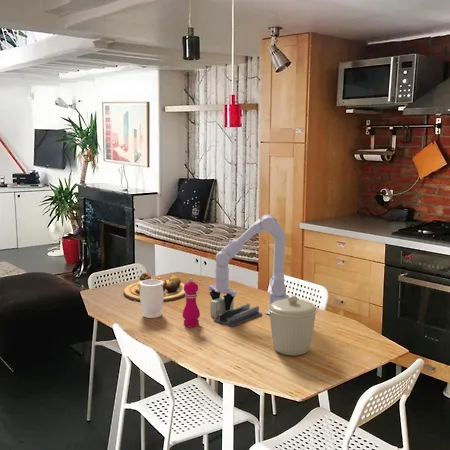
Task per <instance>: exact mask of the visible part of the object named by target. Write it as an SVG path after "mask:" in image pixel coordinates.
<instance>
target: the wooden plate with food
mask: <svg viewBox="0 0 450 450" xmlns="http://www.w3.org/2000/svg"><path fill="white" fill-rule="evenodd" d="M149 279H152V277H151V275H150V273H148V272H147V271H146V272H143V273H142V274H141V275H139V279H138V281H137V282H134V283H131V284H129V285H127V286H126V287H125V288H124V289H123V295H124V296H125V298H127V299H128V298H129V299H128V300H131V299H132V301H134V300H136V301H135V302H140V288H141V286H140V282H141V281H143V280H149ZM153 279H157V280H162V281H163V285H162V287H163V292H164V299H163V303H165V302H171V301H176V300H180V299H182V298H184V297H185V293H186V292H185V291H184V285H185V284H186V283H185V284H184V283H183V282H182V281H181V279H180V278H179V277H178V276H177V275H174V274H173V275H171V276H170V278H169V279H165V278H163V277H160V276H156V277H155V278H153Z"/></svg>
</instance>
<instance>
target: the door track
mask: <svg viewBox="0 0 450 450" xmlns="http://www.w3.org/2000/svg"><path fill="white" fill-rule="evenodd" d="M250 305H251V304H250V303H246V304H244V305H241V306H238V307H236V308H234V309H233V310H230V311H227V312H225V313H222V314H219V315H218V317H217V318H215V319H214V322H215V323H218V324H221V325H225V326H228V327H231V328H234V327H236V326H238V325H241V324H244V323H246V322H248V321H251V320H253V319H255V318H257V317H261V316H262V315H263V312H260V306H257V305H256V306H254V307H252V308H250Z"/></svg>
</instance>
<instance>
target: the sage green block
mask: <svg viewBox="0 0 450 450" xmlns="http://www.w3.org/2000/svg"><path fill="white" fill-rule="evenodd" d="M234 300H235V298H234V299H233V301H232V303H231V307H230V310H233V309H235V308H234V306H235V305H234ZM230 310H228V311H230ZM225 312H227V311H226V310H225V300H224V297H223V296H220V298H218V299H215V300H213V299H211V300H210V317H212V318H215V319H217V318H218V315H219V314H222V313H225Z"/></svg>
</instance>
